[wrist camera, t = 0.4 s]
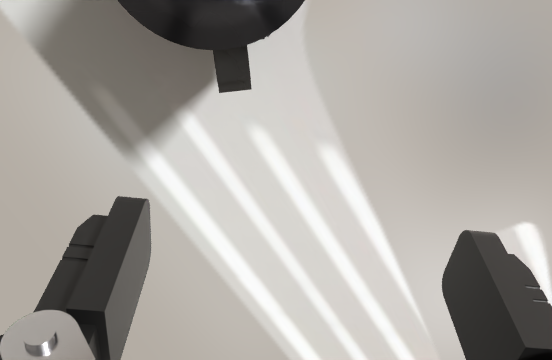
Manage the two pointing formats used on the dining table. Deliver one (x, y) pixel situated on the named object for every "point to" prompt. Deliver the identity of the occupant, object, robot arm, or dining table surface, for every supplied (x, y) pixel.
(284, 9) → the plunger
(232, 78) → the coffee press
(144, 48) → the dining table surface
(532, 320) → the robot arm
